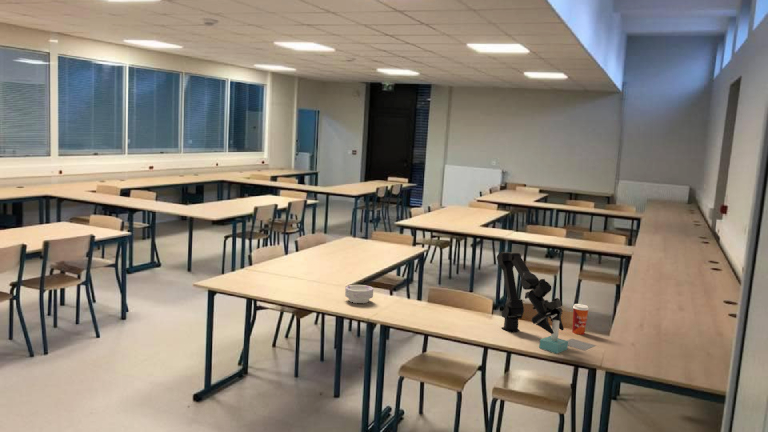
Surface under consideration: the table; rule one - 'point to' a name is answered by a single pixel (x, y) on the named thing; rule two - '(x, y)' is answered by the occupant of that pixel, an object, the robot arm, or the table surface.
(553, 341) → the teal cover
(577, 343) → the grey mat
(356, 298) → the light grey bowl
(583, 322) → the paper cup
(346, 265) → the table surface
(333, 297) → the table surface
